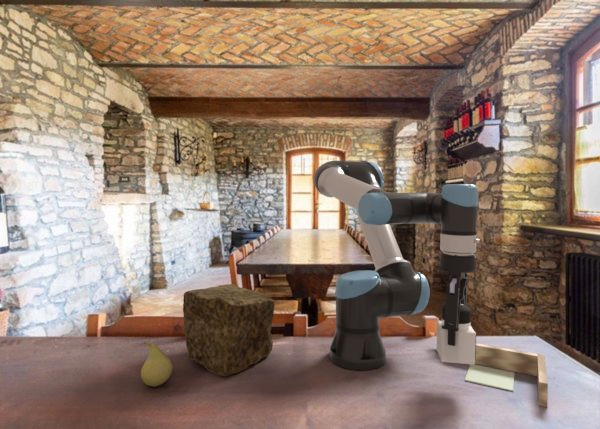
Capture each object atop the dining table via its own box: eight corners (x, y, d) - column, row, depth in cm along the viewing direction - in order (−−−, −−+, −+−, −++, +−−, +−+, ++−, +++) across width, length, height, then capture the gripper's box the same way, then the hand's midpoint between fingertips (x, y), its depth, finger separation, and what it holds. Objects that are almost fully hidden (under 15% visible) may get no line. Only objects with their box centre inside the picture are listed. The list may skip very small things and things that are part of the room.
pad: (464, 380, 89) (464, 379, 89) (470, 364, 98) (470, 363, 98) (513, 391, 84) (513, 390, 84) (514, 373, 92) (514, 372, 92)
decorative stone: (226, 276, 116) (281, 283, 106) (226, 340, 116) (280, 354, 107) (172, 288, 97) (231, 299, 88) (172, 366, 98) (231, 384, 88)
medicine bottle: (475, 365, 81) (477, 311, 81) (441, 362, 83) (442, 309, 82) (468, 351, 88) (469, 301, 88) (436, 348, 90) (437, 299, 89)
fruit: (178, 380, 90) (177, 331, 90) (156, 395, 83) (155, 342, 83) (155, 376, 93) (154, 328, 92) (132, 391, 86) (131, 339, 85)
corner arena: (439, 382, 88) (439, 361, 88) (451, 357, 103) (451, 339, 102) (547, 407, 77) (547, 383, 77) (544, 375, 92) (544, 355, 91)
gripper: (469, 262, 73) (466, 374, 75) (481, 247, 91) (478, 338, 93) (430, 258, 77) (427, 365, 78) (448, 245, 95) (446, 332, 97)
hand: (455, 350), depth 86 cm, fingers closed on medicine bottle, 9 cm apart
